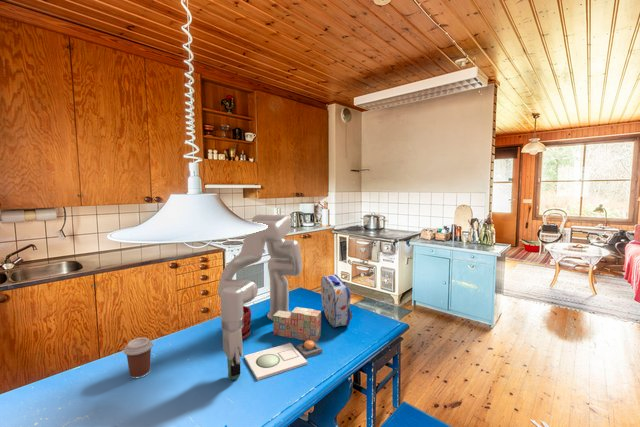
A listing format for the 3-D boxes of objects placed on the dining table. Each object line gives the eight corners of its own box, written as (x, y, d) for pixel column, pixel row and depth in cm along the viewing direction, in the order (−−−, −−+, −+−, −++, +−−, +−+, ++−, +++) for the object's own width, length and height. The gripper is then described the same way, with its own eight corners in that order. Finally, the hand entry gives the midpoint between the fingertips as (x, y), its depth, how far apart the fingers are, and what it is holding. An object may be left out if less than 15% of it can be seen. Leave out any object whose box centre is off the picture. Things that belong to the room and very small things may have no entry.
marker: (226, 374, 112) (225, 348, 111) (238, 370, 114) (237, 345, 113) (229, 380, 108) (228, 353, 107) (241, 377, 110) (240, 350, 109)
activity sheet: (244, 357, 124) (244, 355, 124) (290, 345, 134) (290, 342, 134) (257, 380, 110) (257, 377, 110) (307, 364, 120) (307, 361, 120)
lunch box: (354, 330, 147) (355, 285, 145) (334, 333, 144) (334, 287, 142) (336, 307, 173) (337, 269, 171) (318, 309, 171) (318, 270, 168)
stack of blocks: (272, 334, 143) (272, 309, 142) (279, 328, 149) (278, 303, 147) (316, 343, 136) (316, 316, 134) (321, 336, 142) (321, 310, 140)
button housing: (296, 348, 131) (296, 345, 131) (313, 343, 135) (313, 340, 135) (305, 358, 124) (305, 354, 124) (322, 352, 128) (322, 349, 128)
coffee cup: (123, 383, 108) (121, 351, 106) (127, 369, 116) (125, 338, 115) (153, 377, 112) (151, 345, 110) (154, 363, 120) (153, 333, 119)
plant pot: (245, 326, 150) (245, 302, 149) (255, 338, 139) (255, 312, 138) (218, 333, 143) (217, 308, 142) (226, 346, 132) (225, 319, 131)
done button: (302, 346, 130) (302, 341, 130) (311, 343, 132) (311, 339, 132) (307, 350, 126) (307, 346, 126) (315, 348, 128) (315, 343, 128)
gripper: (216, 315, 114) (218, 362, 116) (227, 335, 100) (229, 388, 102) (236, 311, 118) (238, 356, 120) (250, 330, 103) (251, 381, 106)
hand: (234, 370), depth 111 cm, fingers closed on marker, 4 cm apart
